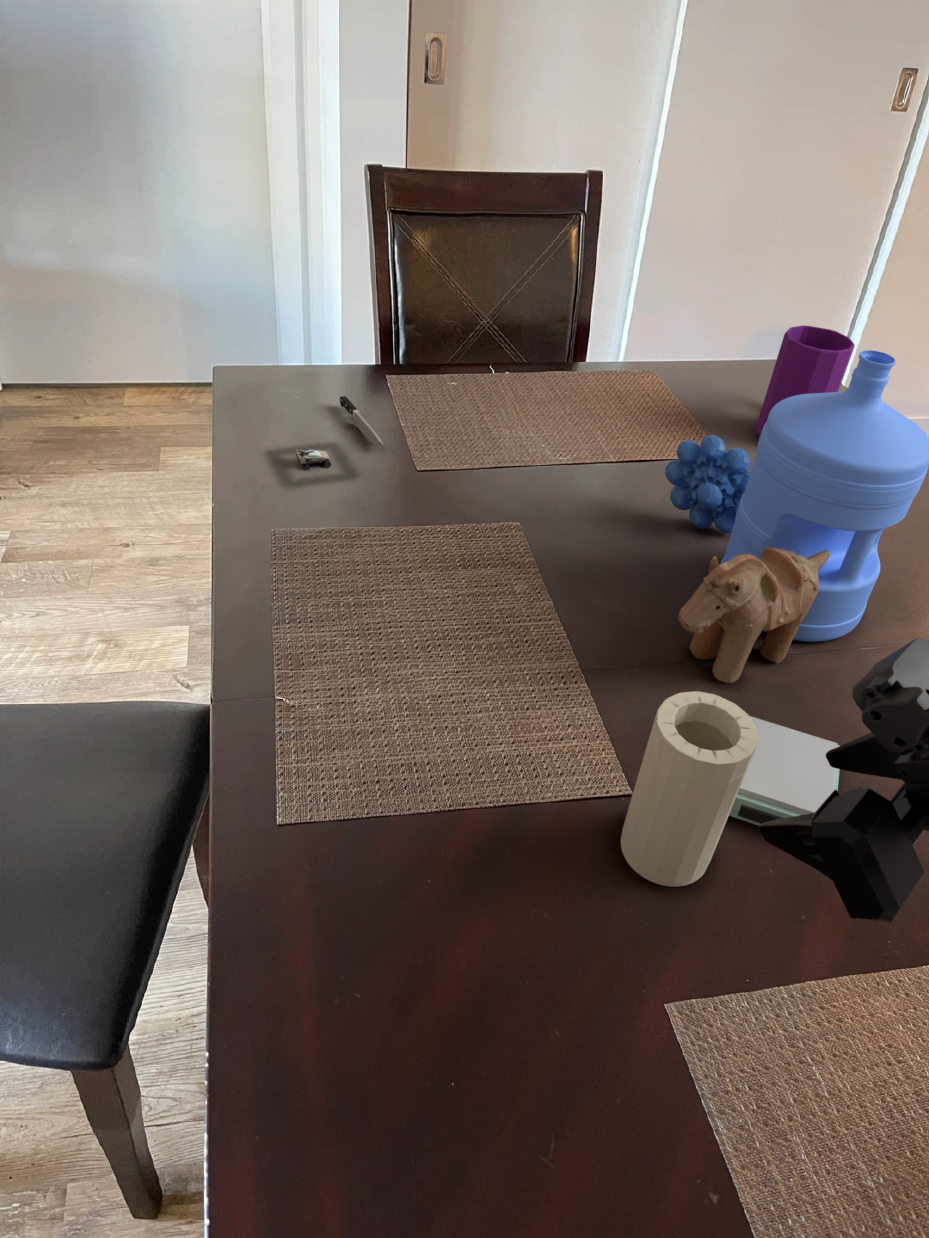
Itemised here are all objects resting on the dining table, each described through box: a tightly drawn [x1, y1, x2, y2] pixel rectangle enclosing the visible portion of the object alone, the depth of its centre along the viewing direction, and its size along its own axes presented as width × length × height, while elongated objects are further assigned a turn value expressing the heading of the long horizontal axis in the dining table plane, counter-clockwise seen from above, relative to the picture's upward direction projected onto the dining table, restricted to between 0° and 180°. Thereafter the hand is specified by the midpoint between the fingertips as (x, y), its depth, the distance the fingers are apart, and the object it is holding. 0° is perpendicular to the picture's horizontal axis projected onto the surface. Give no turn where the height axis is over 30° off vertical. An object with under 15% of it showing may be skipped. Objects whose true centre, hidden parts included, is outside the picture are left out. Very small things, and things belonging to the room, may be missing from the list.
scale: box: [728, 715, 841, 826], centre depth 77 cm, size 10×10×3 cm
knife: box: [339, 395, 384, 447], centre depth 122 cm, size 15×1×2 cm, turn 27°
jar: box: [620, 690, 758, 888], centre depth 68 cm, size 7×7×14 cm
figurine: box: [678, 547, 830, 684], centre depth 86 cm, size 7×18×15 cm, turn 122°
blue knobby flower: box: [664, 434, 752, 534], centre depth 106 cm, size 12×7×12 cm, turn 67°
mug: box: [755, 324, 856, 438], centre depth 129 cm, size 9×16×15 cm, turn 165°
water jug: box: [720, 349, 929, 643], centre depth 91 cm, size 16×16×28 cm
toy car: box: [295, 449, 332, 471], centre depth 114 cm, size 3×4×2 cm, turn 113°
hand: (797, 794), depth 60 cm, fingers open, 9 cm apart
